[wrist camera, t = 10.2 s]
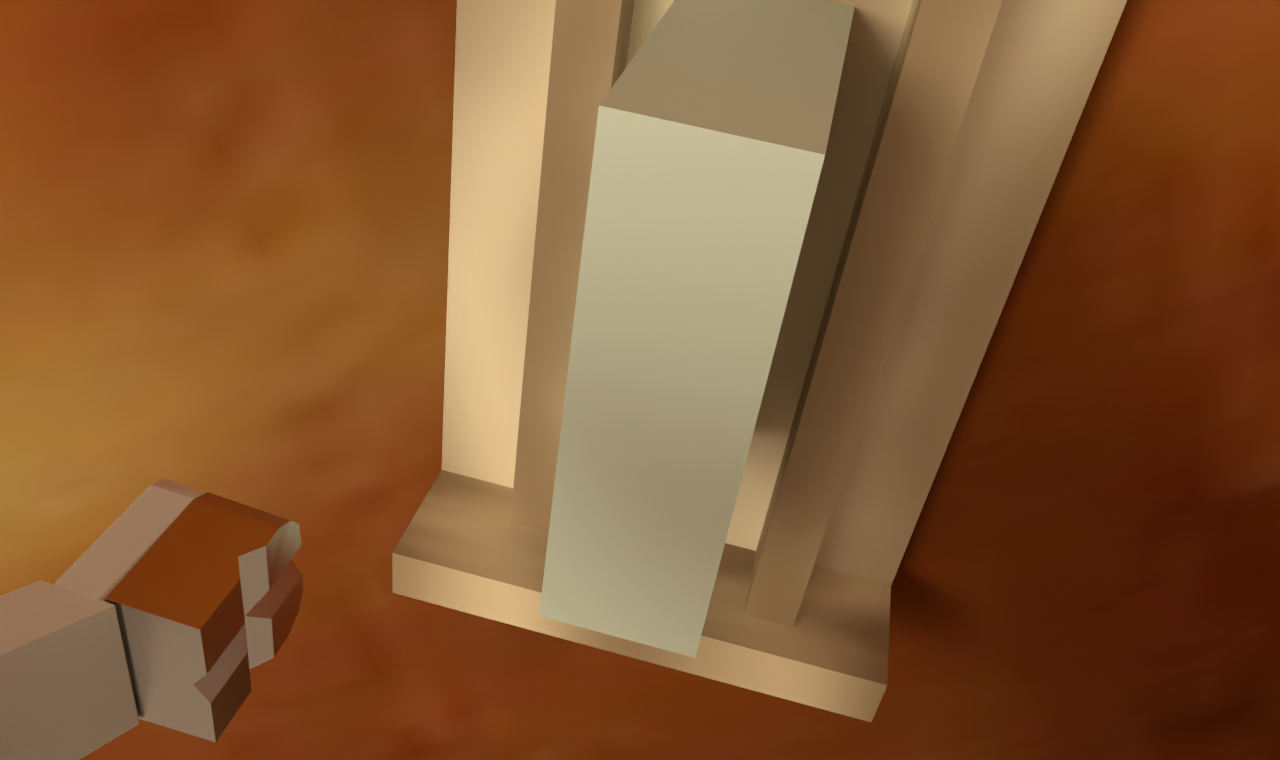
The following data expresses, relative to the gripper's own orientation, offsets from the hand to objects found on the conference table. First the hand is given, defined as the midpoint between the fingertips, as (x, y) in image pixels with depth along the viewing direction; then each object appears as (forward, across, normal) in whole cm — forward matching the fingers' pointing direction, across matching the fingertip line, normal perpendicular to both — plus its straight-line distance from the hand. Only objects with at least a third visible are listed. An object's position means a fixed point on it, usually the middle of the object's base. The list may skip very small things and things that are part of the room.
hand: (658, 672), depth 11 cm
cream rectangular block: (+13, +1, +2) cm, 13 cm away
